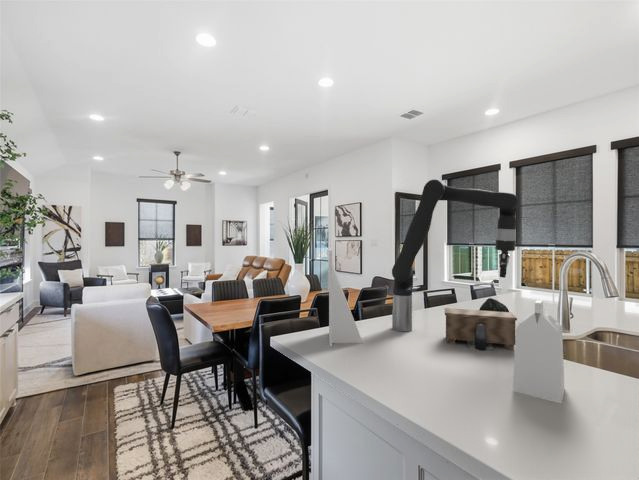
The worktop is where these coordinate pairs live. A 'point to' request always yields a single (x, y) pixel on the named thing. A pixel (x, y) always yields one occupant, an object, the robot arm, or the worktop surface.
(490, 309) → the squash
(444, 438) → the worktop surface
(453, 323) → the cabinet
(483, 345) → the joystick
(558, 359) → the milk
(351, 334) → the white bracket plate
